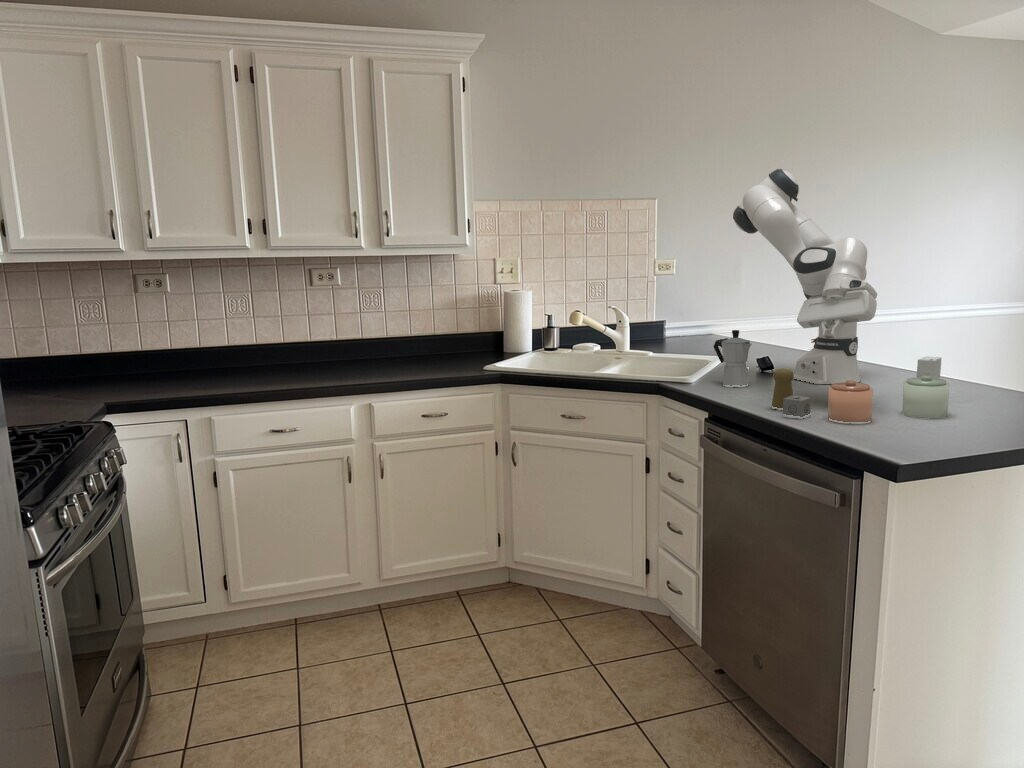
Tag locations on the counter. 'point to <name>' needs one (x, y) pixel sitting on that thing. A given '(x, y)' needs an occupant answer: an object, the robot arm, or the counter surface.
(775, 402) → the cork
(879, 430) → the counter surface
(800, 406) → the dice cube
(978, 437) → the counter surface
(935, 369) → the skincare box
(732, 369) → the coffee maker
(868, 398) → the terracotta canister
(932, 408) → the sage canister
